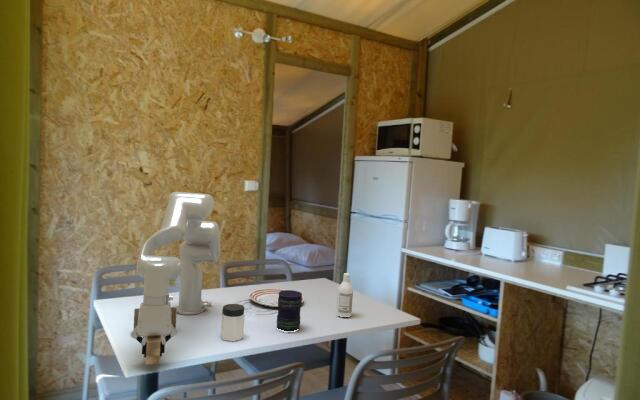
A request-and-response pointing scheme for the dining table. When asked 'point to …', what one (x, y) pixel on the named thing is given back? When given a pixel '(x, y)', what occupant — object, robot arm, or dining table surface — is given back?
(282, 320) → the storage jar
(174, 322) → the right post
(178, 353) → the dining table surface
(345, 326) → the dining table surface
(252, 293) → the dinner plate
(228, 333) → the jar
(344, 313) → the bath foam
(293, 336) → the dining table surface
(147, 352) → the block
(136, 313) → the left post
